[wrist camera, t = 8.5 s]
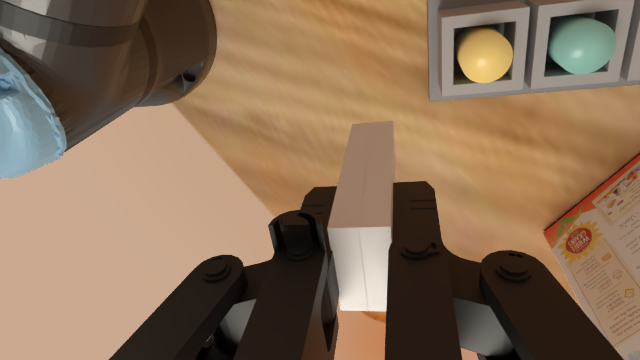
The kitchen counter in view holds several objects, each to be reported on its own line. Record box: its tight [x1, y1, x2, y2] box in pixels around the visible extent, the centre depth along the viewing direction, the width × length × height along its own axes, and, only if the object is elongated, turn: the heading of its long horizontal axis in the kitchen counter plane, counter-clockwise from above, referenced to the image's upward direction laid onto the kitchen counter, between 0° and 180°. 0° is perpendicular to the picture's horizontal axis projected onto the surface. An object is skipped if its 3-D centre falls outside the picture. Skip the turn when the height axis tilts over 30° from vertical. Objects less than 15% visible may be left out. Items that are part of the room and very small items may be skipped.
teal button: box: [546, 14, 616, 75], centre depth 33 cm, size 4×4×4 cm
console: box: [427, 0, 640, 102], centre depth 34 cm, size 22×10×5 cm, turn 99°
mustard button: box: [454, 24, 513, 83], centre depth 34 cm, size 4×4×4 cm
